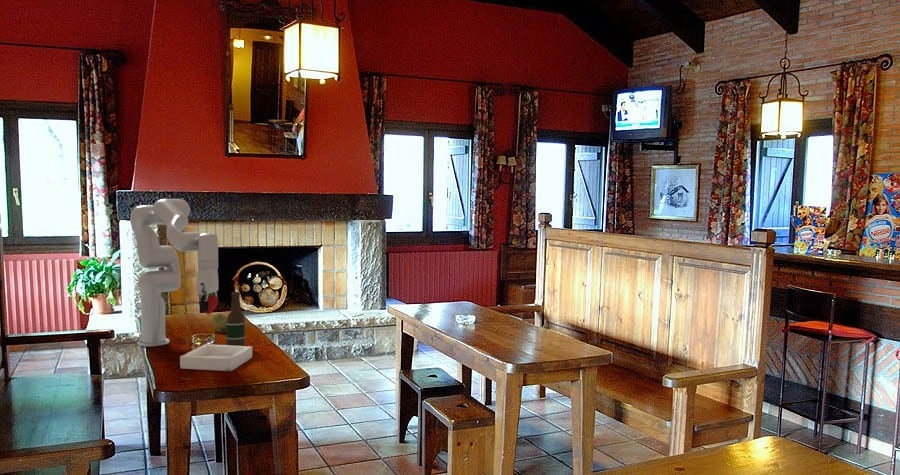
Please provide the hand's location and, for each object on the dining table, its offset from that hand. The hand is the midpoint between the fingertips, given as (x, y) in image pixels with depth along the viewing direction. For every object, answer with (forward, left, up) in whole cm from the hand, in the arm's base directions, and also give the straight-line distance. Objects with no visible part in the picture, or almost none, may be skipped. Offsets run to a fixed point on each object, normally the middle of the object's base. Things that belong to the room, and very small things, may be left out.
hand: (208, 309), depth 258 cm
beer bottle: (+2, +21, -21) cm, 29 cm away
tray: (+5, -3, -20) cm, 21 cm away
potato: (-17, +48, -21) cm, 55 cm away
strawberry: (0, 0, -2) cm, 2 cm away
